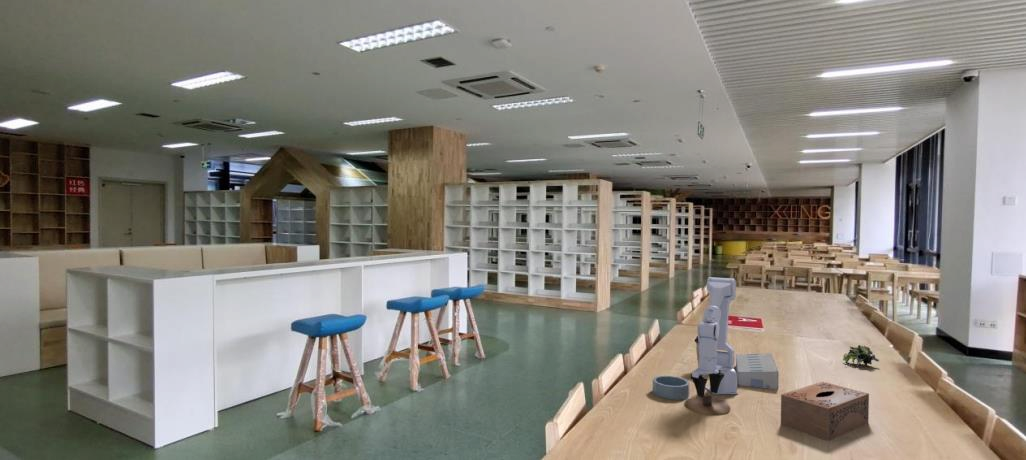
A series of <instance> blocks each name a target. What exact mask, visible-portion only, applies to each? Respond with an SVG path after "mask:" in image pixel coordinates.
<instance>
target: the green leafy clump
mask: <svg viewBox="0 0 1026 460" xmlns="http://www.w3.org/2000/svg"><path fill="white" fill-rule="evenodd" d="M848 350H849V351H848V353H844V355H843V358H842V361H844V362H845V363H846V362H847V363H848V362H849V361H850V360H851V362H852V364H855V361H856V363H857V365H856V368H857V367H858V366H859V365H860V364H861V363H862V362H863V365H866V366H867V365H872V361H875V362H879V361H880V359H878V358H876V355H875V354H873V353H874V351H872V350H871V348H870V347H869V346H866V345H860V344H859V345H858V346H851V345H850V346H849V349H848Z"/></svg>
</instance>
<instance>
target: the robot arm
mask: <svg viewBox="0 0 1026 460" xmlns="http://www.w3.org/2000/svg"><path fill="white" fill-rule="evenodd" d="M706 291H707V292H708V294H709V297H710V298H709V304H708V306H707V307H705V308H704V312H703V315H702V319H701V322H699V323H698V325H697V336H698V342H699V343H700V344H699V368H698V367H697V368H696V369H695V370H692V372H691V375H690V378H691V380H692V382H693V384H694V388H695V390H696V395H697V397H704V395H705V391H706V390H708V391H709V392H710V393H712V394H713V395H738V394H739V392H738V377H737V370H735V369H734V367H735V363H736V356H735V350H734V348H733V347H732V346H730V345H729V343H728V330H729V328H728V326H729V311H730V309H729V308H730V303H731V301H734V300H735V299H736V295H737V293H736V291H737V281H736V279H735V278H733V277H731V278H730V277H727V278H726V277H714V276H713V277H712V276H709V277H707V281H706ZM704 376H708V378H705V377H704ZM708 380H709V386H707V385H706V384H707V382H708Z"/></svg>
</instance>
